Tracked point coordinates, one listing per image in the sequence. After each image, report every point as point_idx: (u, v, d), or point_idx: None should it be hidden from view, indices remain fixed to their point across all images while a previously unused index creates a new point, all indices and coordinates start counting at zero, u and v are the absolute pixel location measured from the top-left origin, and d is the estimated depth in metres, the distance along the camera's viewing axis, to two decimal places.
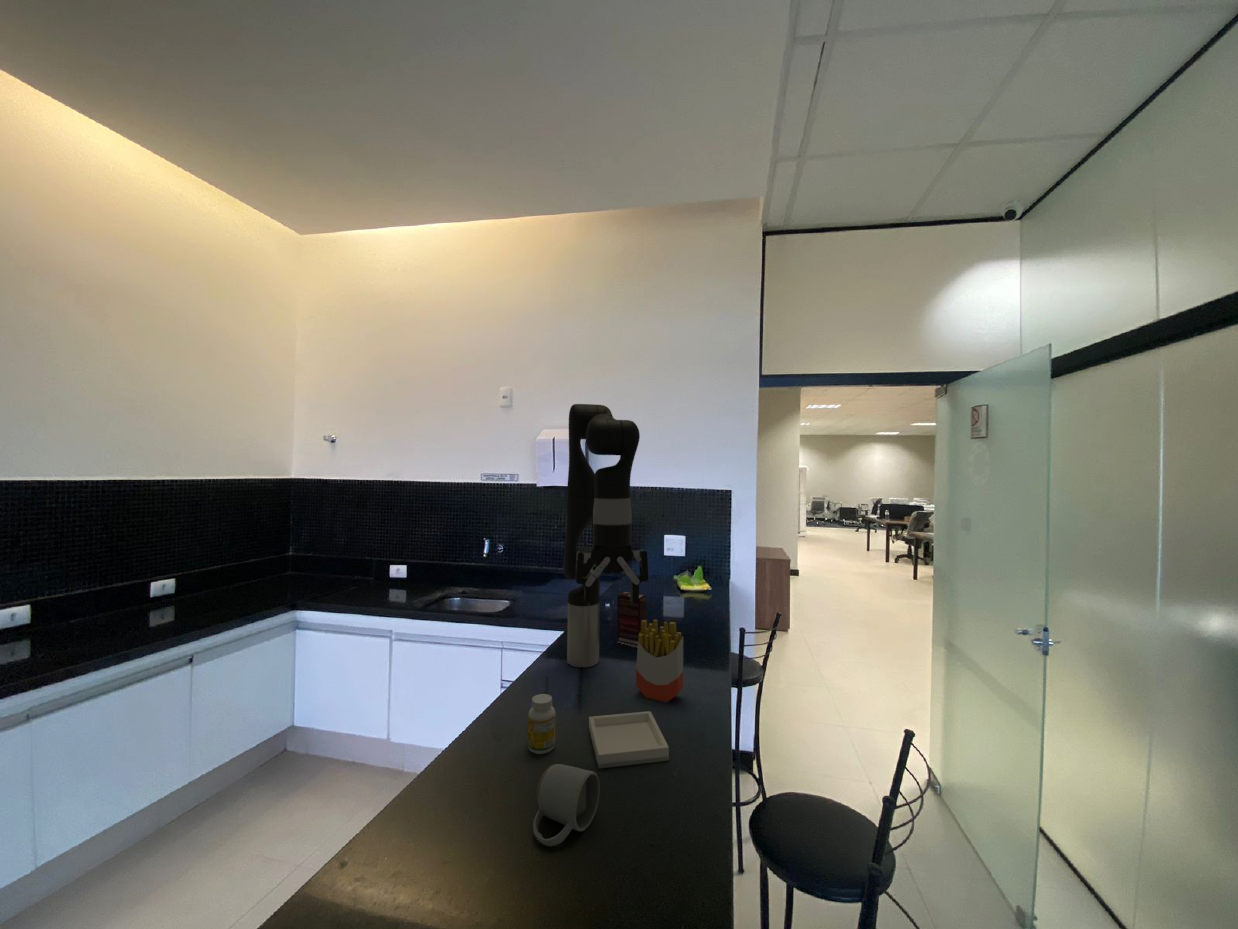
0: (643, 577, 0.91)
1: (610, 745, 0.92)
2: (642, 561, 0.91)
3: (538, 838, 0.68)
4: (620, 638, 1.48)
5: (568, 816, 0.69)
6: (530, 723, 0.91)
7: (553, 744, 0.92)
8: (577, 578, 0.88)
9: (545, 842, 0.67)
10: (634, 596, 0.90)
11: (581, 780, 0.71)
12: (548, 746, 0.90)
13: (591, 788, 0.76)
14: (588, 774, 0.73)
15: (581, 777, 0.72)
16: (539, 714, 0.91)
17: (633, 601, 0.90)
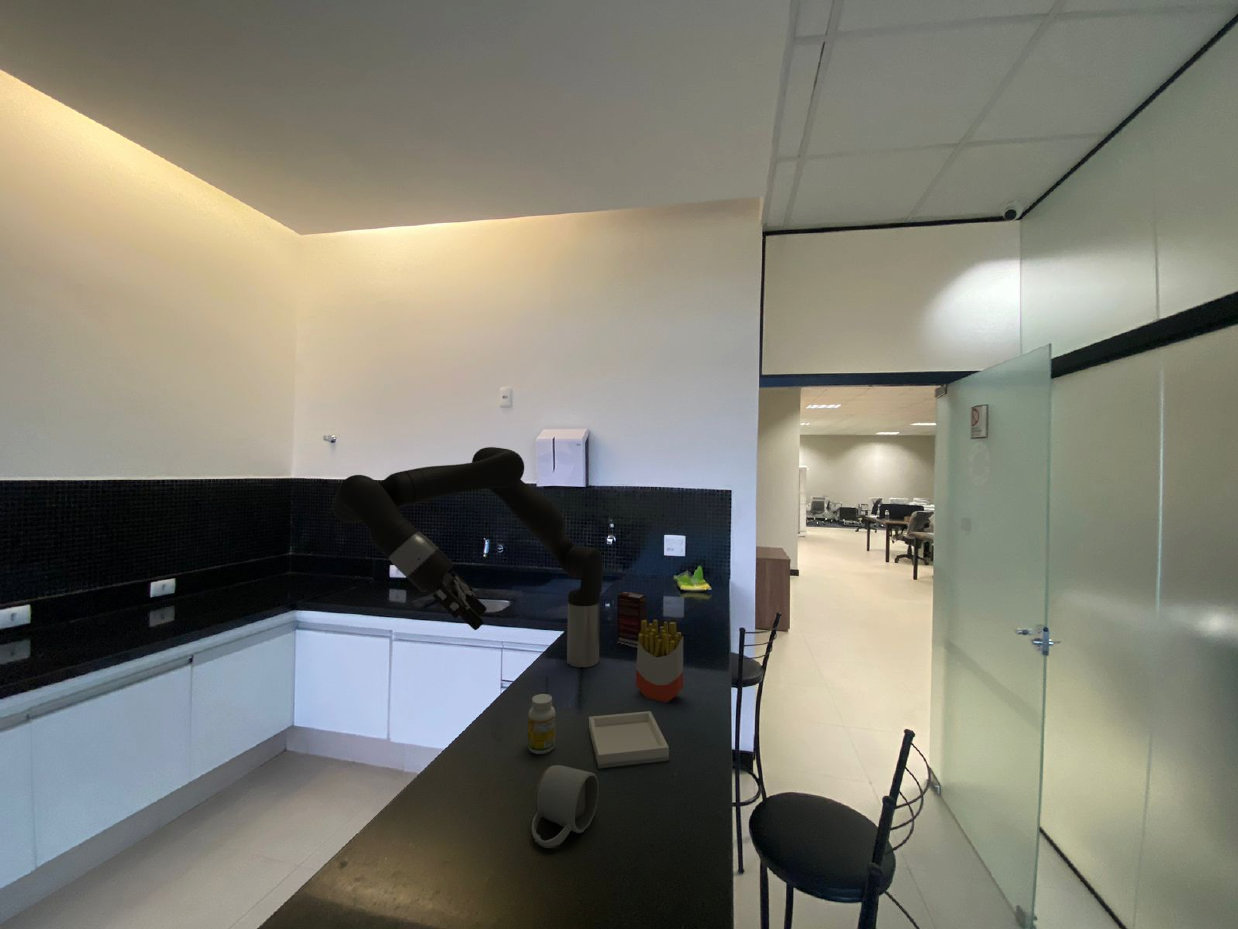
0: None
1: (610, 745, 0.92)
2: None
3: (536, 840, 0.68)
4: (620, 638, 1.48)
5: (567, 818, 0.69)
6: (530, 723, 0.91)
7: (553, 744, 0.92)
8: None
9: (543, 844, 0.67)
10: None
11: (580, 781, 0.71)
12: (548, 746, 0.90)
13: (590, 789, 0.75)
14: (587, 775, 0.72)
15: (580, 779, 0.72)
16: (539, 714, 0.91)
17: None
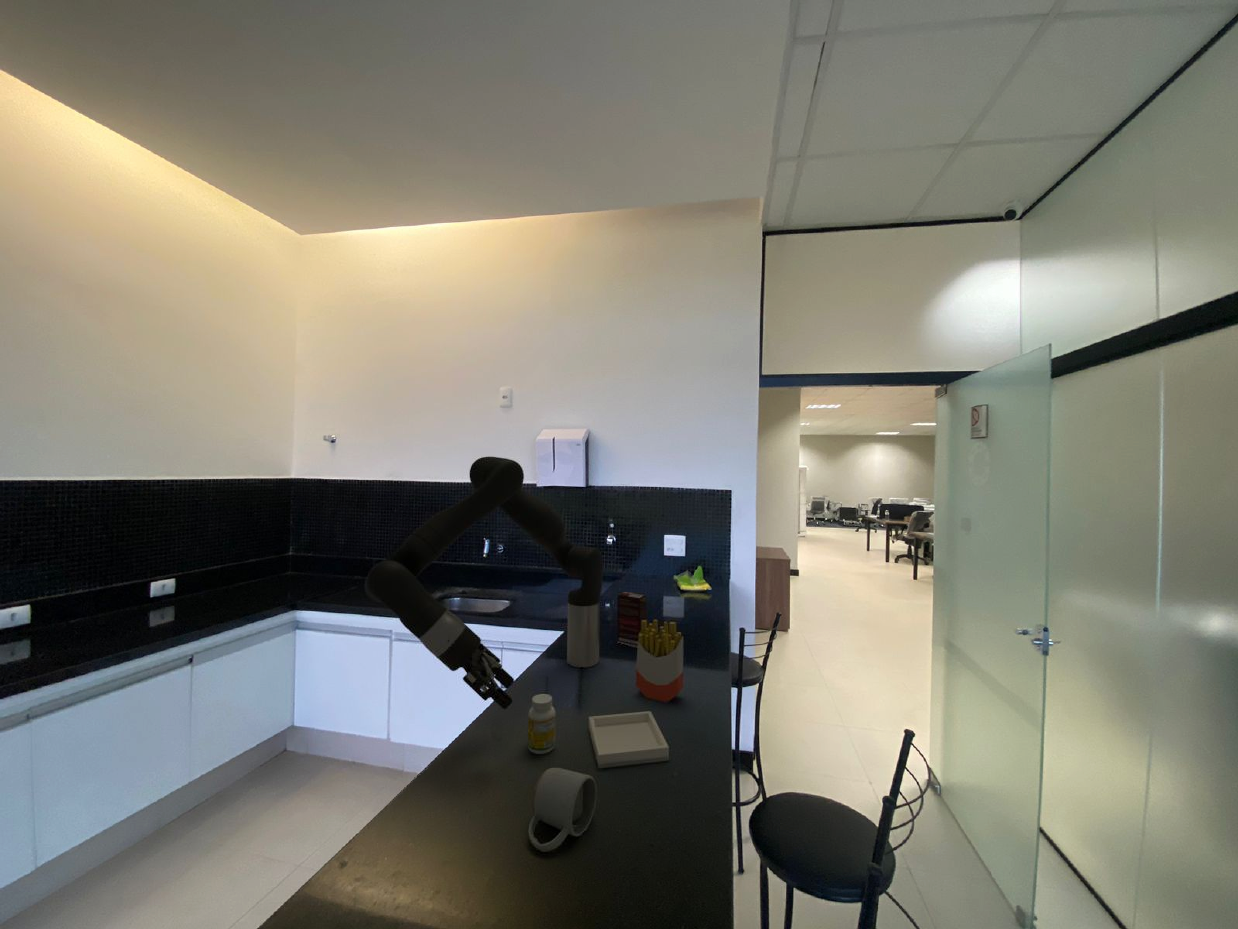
0: None
1: (610, 745, 0.92)
2: None
3: (533, 843, 0.67)
4: (620, 638, 1.48)
5: (564, 821, 0.68)
6: (530, 723, 0.91)
7: (553, 744, 0.92)
8: None
9: (540, 847, 0.66)
10: None
11: (577, 784, 0.70)
12: (548, 746, 0.90)
13: (588, 792, 0.75)
14: (585, 778, 0.72)
15: (578, 781, 0.71)
16: (539, 714, 0.91)
17: None
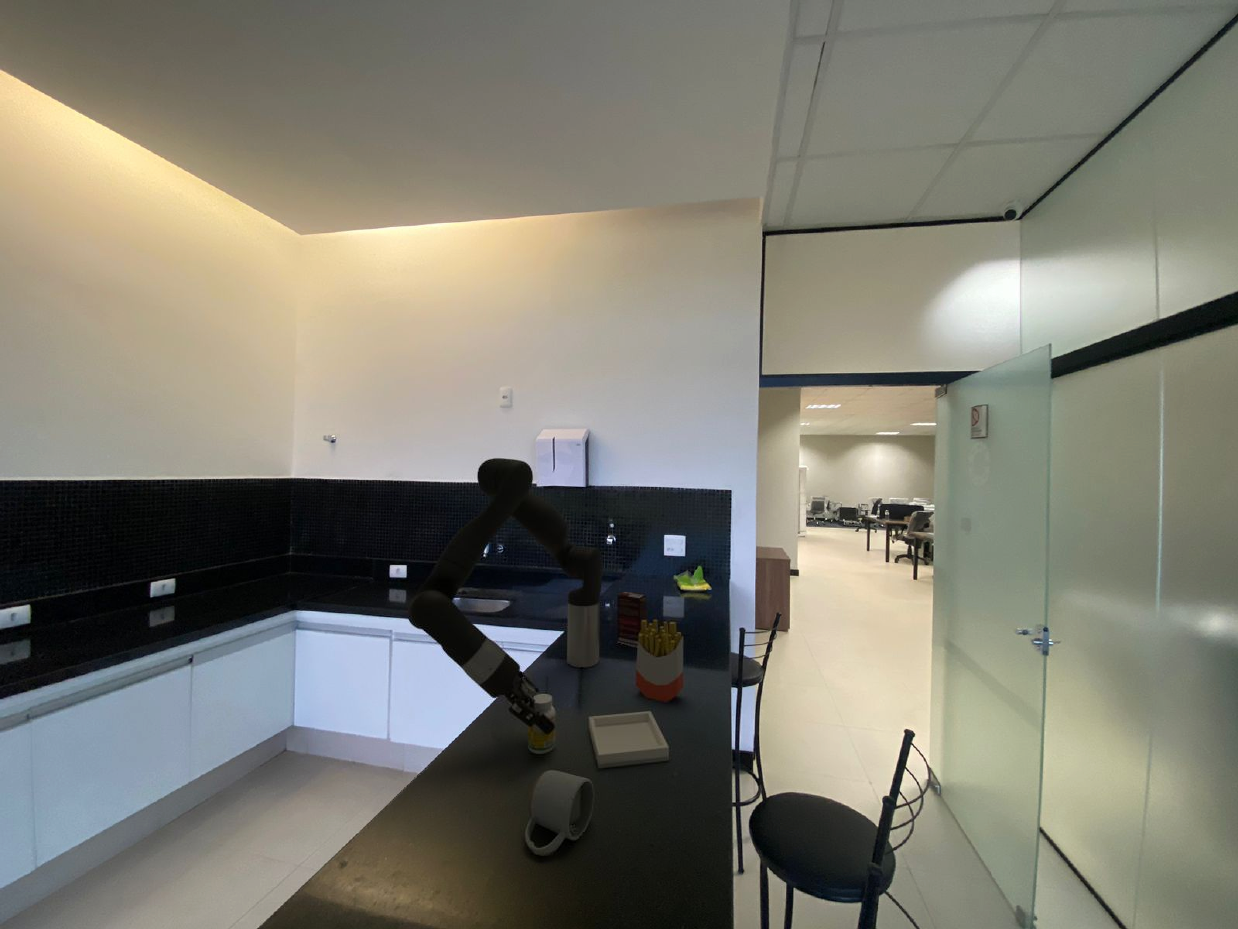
0: None
1: (610, 745, 0.92)
2: None
3: (530, 847, 0.66)
4: (620, 638, 1.48)
5: (561, 824, 0.68)
6: None
7: (553, 744, 0.92)
8: None
9: (537, 851, 0.66)
10: None
11: (575, 787, 0.70)
12: (548, 746, 0.90)
13: (585, 795, 0.74)
14: (582, 781, 0.71)
15: (575, 784, 0.70)
16: None
17: None
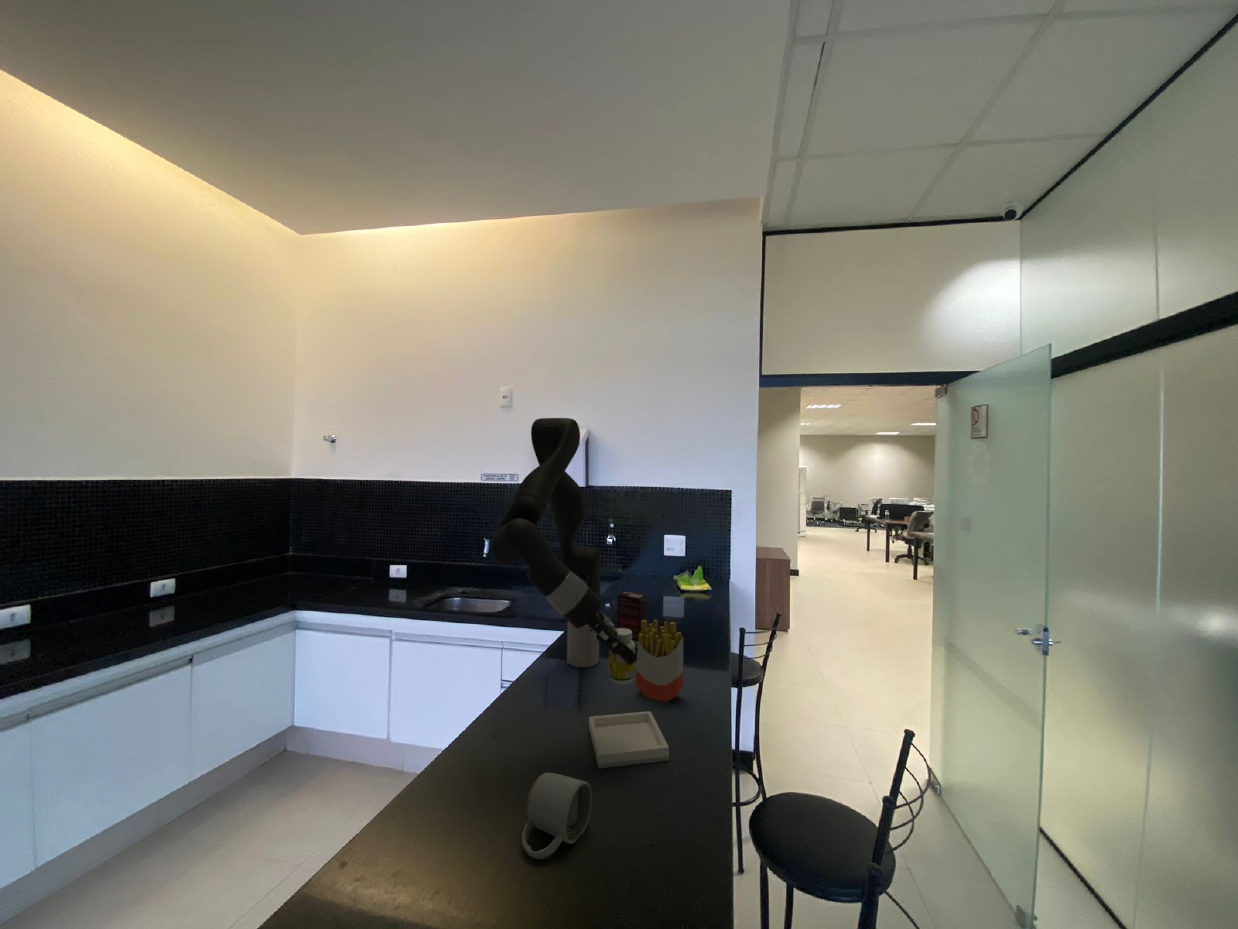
0: None
1: (610, 745, 0.92)
2: None
3: (527, 850, 0.66)
4: None
5: (558, 828, 0.67)
6: (612, 654, 0.92)
7: (634, 675, 0.93)
8: None
9: (534, 855, 0.65)
10: (625, 660, 0.91)
11: (572, 790, 0.69)
12: (630, 677, 0.92)
13: (583, 798, 0.73)
14: (579, 784, 0.70)
15: (572, 787, 0.70)
16: None
17: None
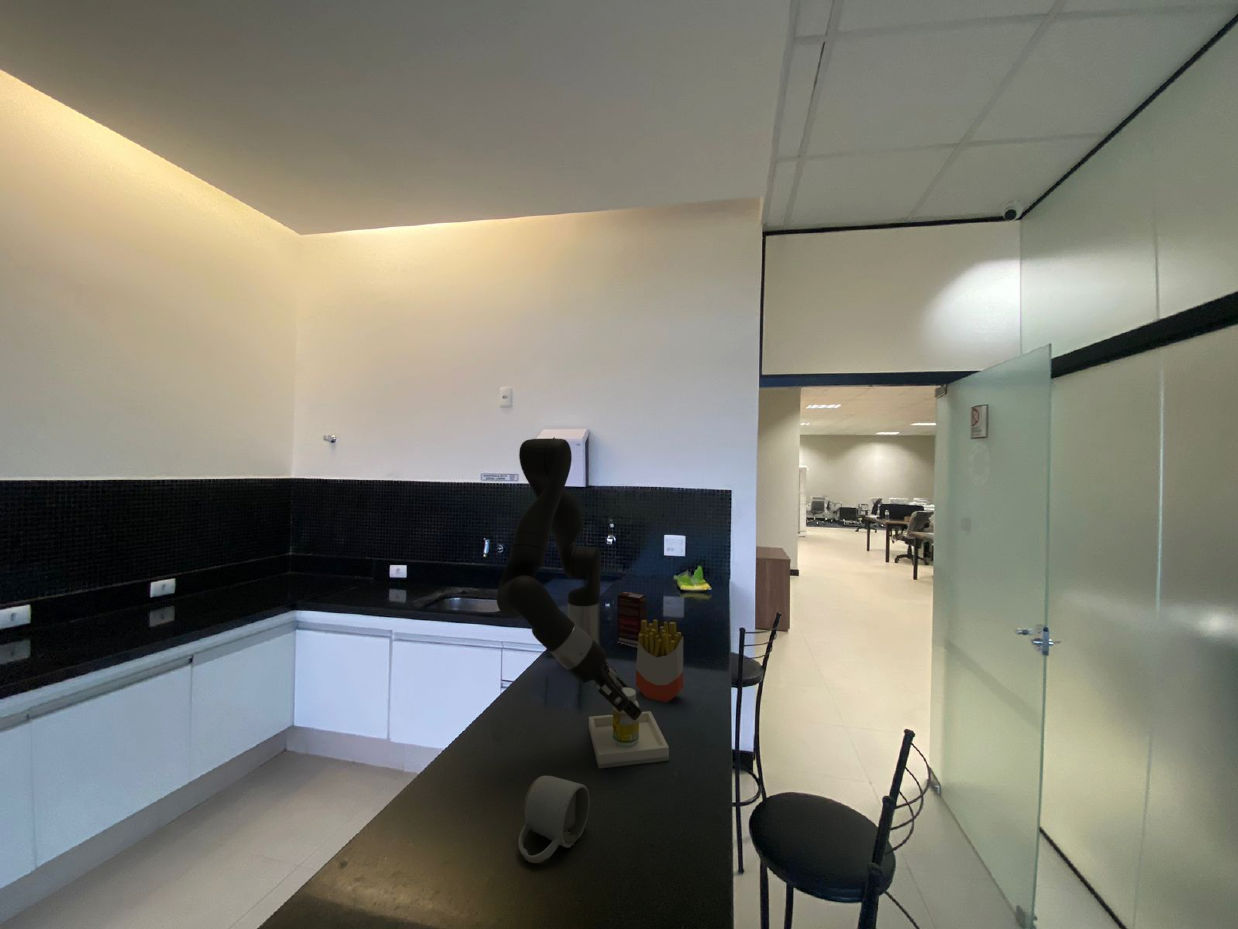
0: None
1: (610, 745, 0.92)
2: None
3: (523, 854, 0.65)
4: (620, 638, 1.48)
5: (555, 832, 0.66)
6: (616, 716, 0.92)
7: (638, 737, 0.93)
8: None
9: None
10: (629, 715, 0.90)
11: (569, 794, 0.68)
12: (634, 739, 0.92)
13: (581, 801, 0.73)
14: (577, 787, 0.70)
15: (569, 791, 0.69)
16: None
17: None
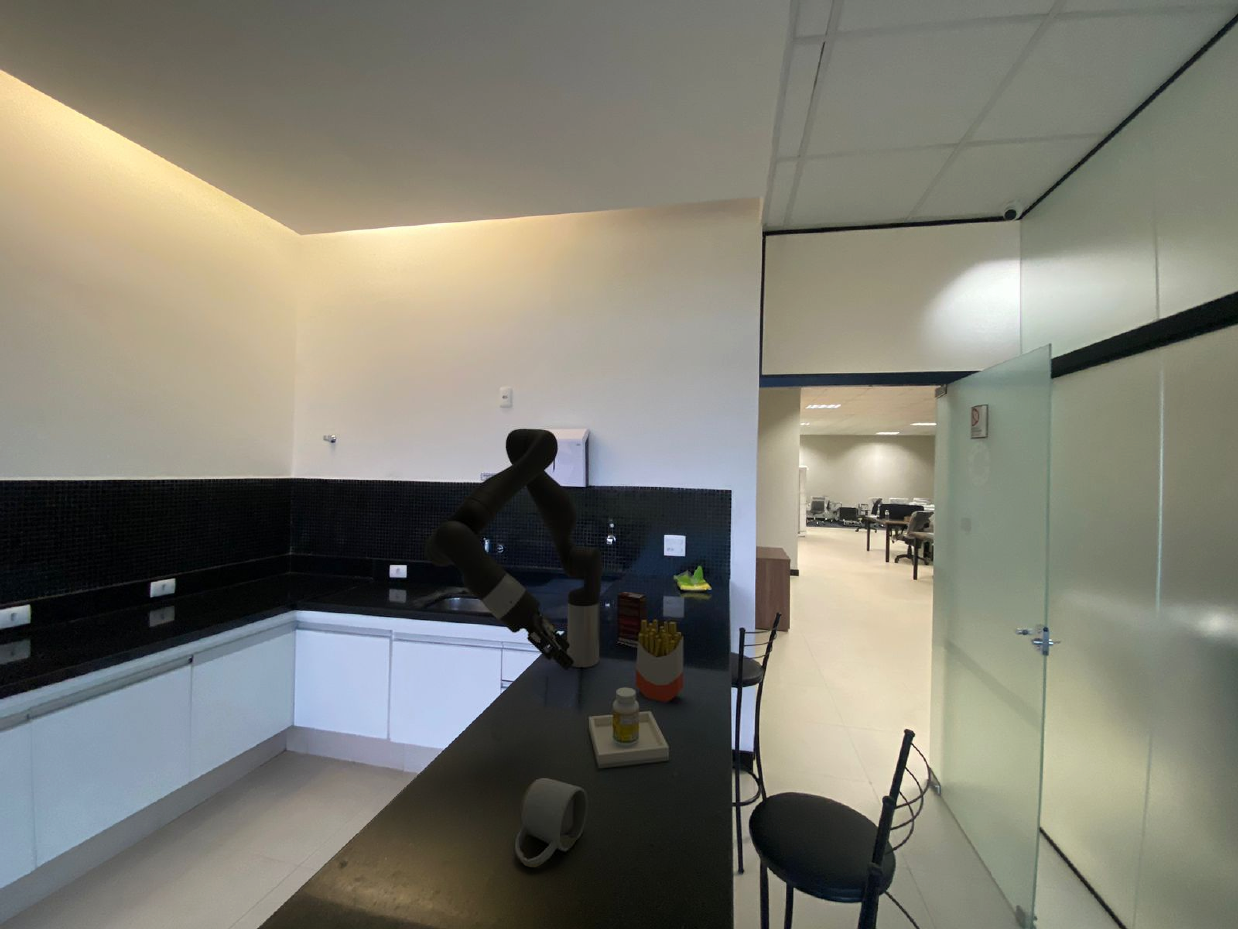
0: None
1: (610, 745, 0.92)
2: None
3: (520, 858, 0.65)
4: (620, 638, 1.48)
5: (552, 835, 0.66)
6: (616, 716, 0.92)
7: (638, 737, 0.93)
8: None
9: (527, 862, 0.64)
10: None
11: (566, 797, 0.68)
12: (634, 739, 0.92)
13: (578, 804, 0.72)
14: (574, 790, 0.69)
15: (567, 794, 0.68)
16: (624, 707, 0.92)
17: None
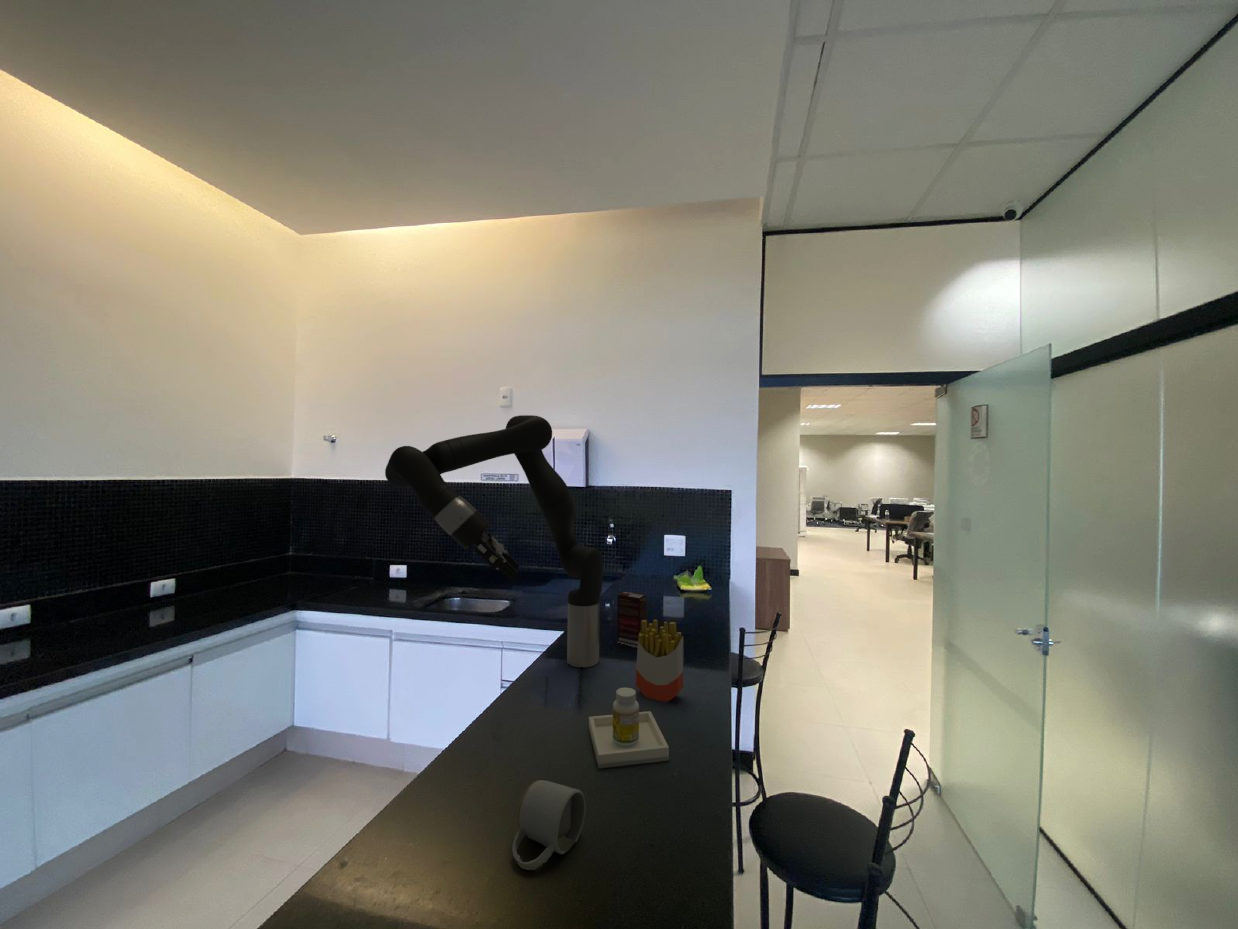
0: None
1: (610, 745, 0.92)
2: None
3: (517, 861, 0.64)
4: (620, 638, 1.48)
5: (549, 838, 0.65)
6: (616, 716, 0.92)
7: (638, 737, 0.93)
8: None
9: None
10: (506, 576, 0.97)
11: (564, 799, 0.67)
12: (634, 739, 0.92)
13: (576, 807, 0.71)
14: (572, 793, 0.68)
15: (565, 796, 0.68)
16: (625, 707, 0.92)
17: None
